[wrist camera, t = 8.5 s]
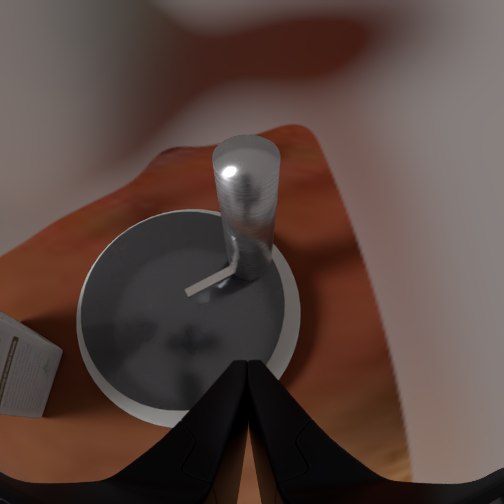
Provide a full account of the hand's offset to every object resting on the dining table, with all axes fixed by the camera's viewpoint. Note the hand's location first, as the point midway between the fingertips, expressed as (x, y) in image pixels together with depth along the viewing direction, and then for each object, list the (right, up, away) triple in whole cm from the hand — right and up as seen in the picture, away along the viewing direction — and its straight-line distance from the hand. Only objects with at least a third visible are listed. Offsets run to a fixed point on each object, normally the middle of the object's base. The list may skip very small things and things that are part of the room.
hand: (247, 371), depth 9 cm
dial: (-4, 0, +8) cm, 9 cm away
